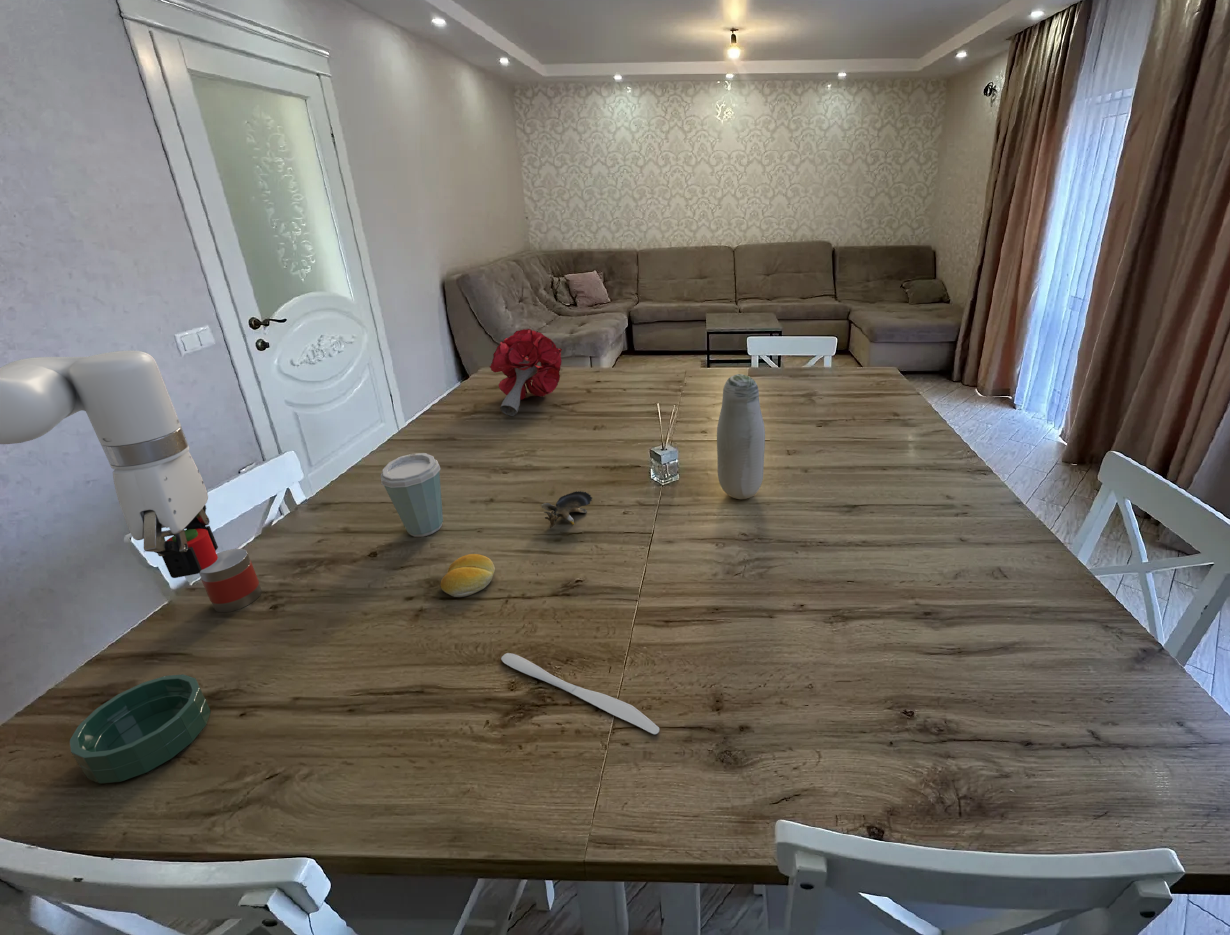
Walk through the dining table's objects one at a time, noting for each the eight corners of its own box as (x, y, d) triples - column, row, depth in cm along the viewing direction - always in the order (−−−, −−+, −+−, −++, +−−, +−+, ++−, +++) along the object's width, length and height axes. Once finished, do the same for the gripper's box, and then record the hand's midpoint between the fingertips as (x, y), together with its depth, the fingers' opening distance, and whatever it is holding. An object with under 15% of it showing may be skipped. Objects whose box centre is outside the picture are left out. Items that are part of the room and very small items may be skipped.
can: (204, 608, 92) (186, 569, 89) (244, 583, 98) (229, 545, 95) (231, 616, 90) (215, 576, 87) (271, 590, 96) (257, 552, 93)
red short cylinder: (166, 571, 77) (153, 541, 75) (203, 551, 81) (191, 522, 79) (189, 577, 76) (176, 546, 74) (225, 557, 80) (214, 527, 78)
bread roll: (435, 600, 93) (430, 581, 92) (456, 566, 102) (452, 548, 100) (484, 598, 94) (480, 579, 92) (501, 565, 102) (498, 547, 100)
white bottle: (771, 499, 122) (775, 379, 112) (730, 510, 118) (730, 387, 108) (749, 479, 131) (750, 366, 120) (710, 489, 126) (708, 373, 116)
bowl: (64, 770, 66) (46, 741, 65) (173, 693, 77) (160, 666, 75) (127, 798, 63) (109, 768, 61) (232, 714, 73) (220, 686, 72)
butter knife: (513, 645, 83) (497, 658, 81) (666, 721, 71) (653, 739, 69) (513, 648, 83) (498, 661, 81) (666, 724, 72) (653, 742, 69)
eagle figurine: (567, 533, 109) (600, 506, 115) (546, 503, 108) (580, 478, 114) (552, 537, 115) (584, 511, 121) (532, 509, 114) (565, 485, 120)
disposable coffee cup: (448, 538, 110) (434, 472, 104) (388, 548, 107) (370, 480, 101) (455, 510, 119) (442, 448, 114) (400, 519, 116) (384, 455, 111)
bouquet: (556, 431, 174) (578, 362, 192) (526, 382, 156) (554, 310, 174) (493, 432, 177) (521, 364, 196) (457, 384, 159) (491, 314, 178)
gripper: (145, 426, 78) (190, 536, 84) (66, 482, 63) (128, 609, 70) (211, 419, 80) (250, 525, 87) (149, 470, 65) (202, 594, 72)
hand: (195, 562), depth 78 cm, fingers closed on red short cylinder, 4 cm apart
